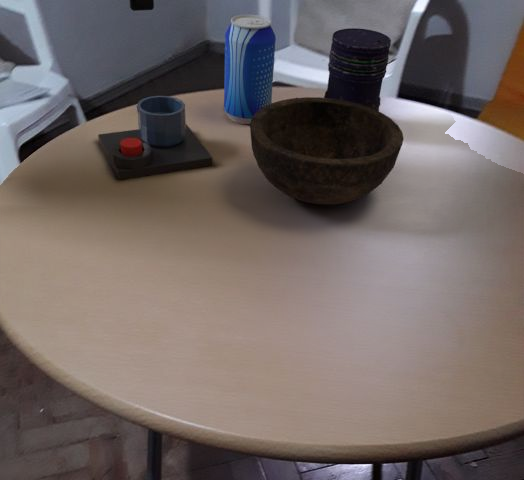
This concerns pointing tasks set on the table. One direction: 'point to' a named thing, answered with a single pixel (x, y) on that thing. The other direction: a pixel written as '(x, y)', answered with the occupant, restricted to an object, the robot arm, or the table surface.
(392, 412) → the table surface
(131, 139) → the button
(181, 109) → the small cup
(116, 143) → the base
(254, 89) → the beer can
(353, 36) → the storage jar
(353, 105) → the bowl
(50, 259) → the table surface
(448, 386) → the table surface
